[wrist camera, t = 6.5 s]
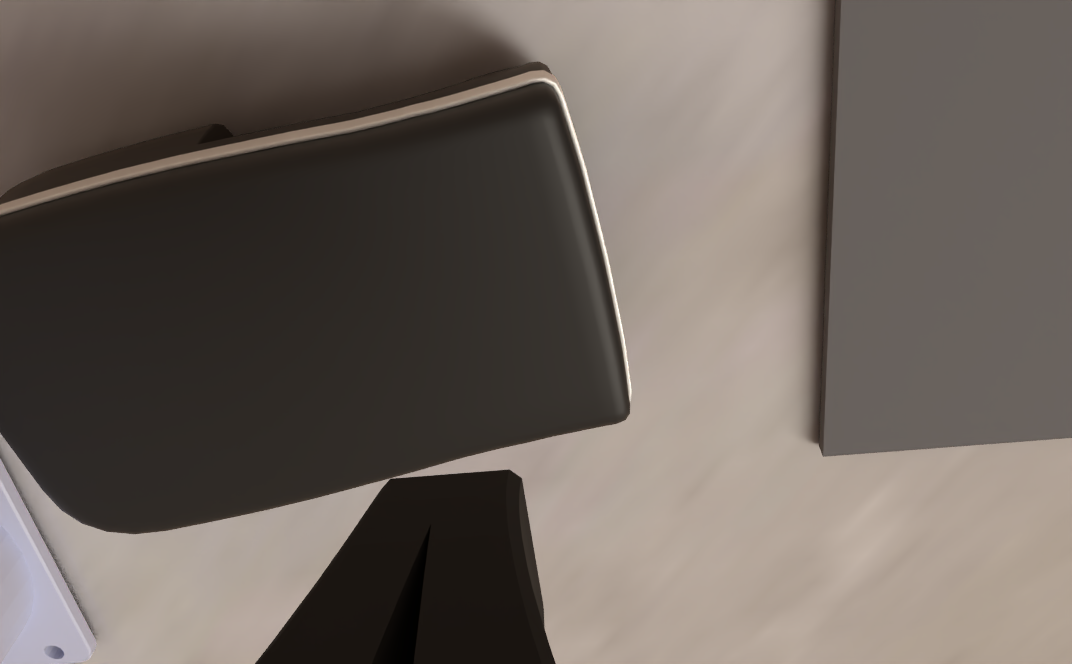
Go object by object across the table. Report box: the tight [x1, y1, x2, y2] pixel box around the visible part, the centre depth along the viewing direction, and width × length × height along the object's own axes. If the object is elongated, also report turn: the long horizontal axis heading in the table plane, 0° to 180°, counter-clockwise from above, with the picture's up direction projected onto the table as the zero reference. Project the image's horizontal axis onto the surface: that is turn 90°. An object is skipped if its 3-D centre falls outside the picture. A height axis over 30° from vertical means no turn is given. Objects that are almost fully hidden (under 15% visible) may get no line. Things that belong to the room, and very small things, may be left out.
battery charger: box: [0, 62, 632, 534], centre depth 18 cm, size 7×4×11 cm
